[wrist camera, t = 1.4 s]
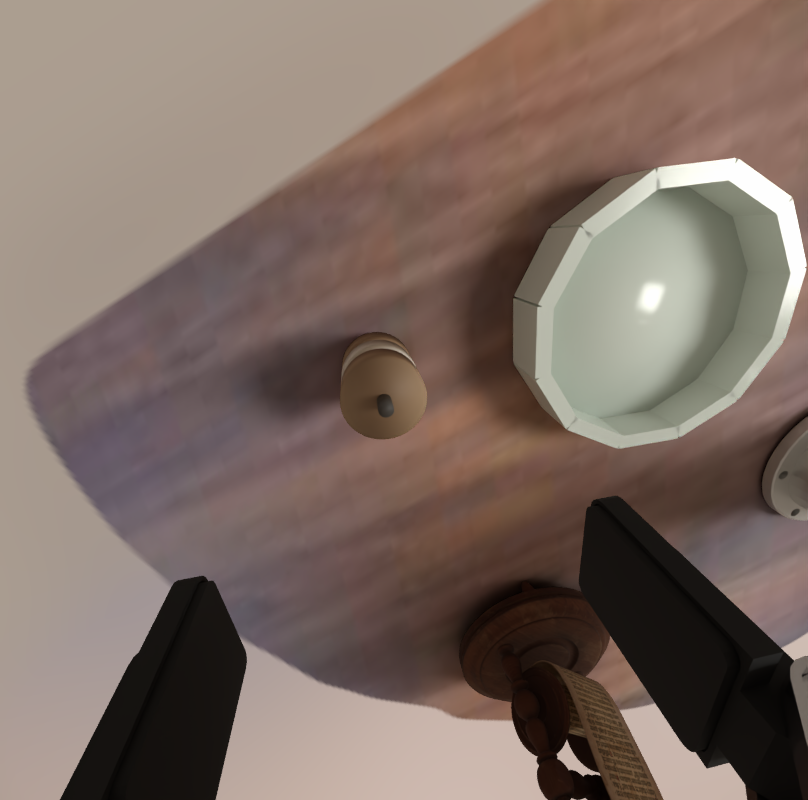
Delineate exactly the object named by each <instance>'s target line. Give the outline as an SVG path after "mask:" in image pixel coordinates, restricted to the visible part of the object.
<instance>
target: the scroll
mask: <svg viewBox="0 0 808 800" xmlns="http://www.w3.org/2000/svg"><path fill="white" fill-rule="evenodd" d="M609 639H610V634H609V633H608V631H607V630H606V628H605V627H604V625H603V624H602V622H601V621H600V619H599V618H598V616H597V615H596V613H595V612H594V610H593V609H592V607H591V606H590V604H589V603H588V601H587V600H586V598H585V597H584V595H583V593H582V592H580V591H578V590H574V589H570V588H562V587H547V588H539V589H534V588H533V587H532V585H530V584H529V583H528V582H527V581H523V582H522V593H519V594H516V595H514V596H511V597H509V598H507V599H505V600H503V601H501V602H499V603H497V604H496V605H494V606H493V607H491V608H490V609H488V610H487V611H486V612H484V613H483V614H482V615H481V616H480V617H479V618H478V619H477V620H476V621H475V622H474V623H473V624H472V625H471V627H470V628H469V629H468V631H467V632H466V634H465V636H464V638H463V640H462V643H461V645H460V652H459V658H460V663H461V667H462V671H463V675H464V677H465V680H466V681H467V683H468V684H469V685H470V686H471V687H472V688H473V689H474V690H475V691H477V692H478V693H480V694H482V695H484V696H487V697H489V698H493V699H498V700H502V701H508V702H512V703H511V709H512V718H513V723H514V726H515V729H516V732H517V735H518V737H519V739H520V741H521V742H522V744H523V745H524V746H525V747H526V749H527V750H528V751H529V752H531V753H532V754H534V755H535V756H538V758H537V763H538V764H539V767H538V770H537V779H538V783H539V787H540V789H541V791H542V793H543V794H544V796H545V797H546V798H547V799H548V800H570V799H571V798H573V799H576V800H580V799H583V798H586V799H587V800H663V798H662V796H661V793H660V791H659V789H658V787H657V785H656V783H655V781H654V778H653V776H652V774H651V773H650V770H649V768H648V766H647V764H646V762H645V760H644V758H643V756H642V754H641V752H640V750H639V748H638V746H637V744H636V742H635V740H634V738H633V736H632V734H631V732H630V730H629V728H628V726H627V724H626V723H625V720H624V718H623V717H622V714H621V713H620V711H619V709H618V707H617V705H616V704H615V702H614V701H613V699H612V698H611V696H610V695H609V693H608V692H607V691H606V690H605V689H604V687H603V686H602V685H601V684H599V683H598V682H596V681H594V680H592V679H589V678H587V677H585V676H586V675H588V674H589V673H590V672H591V671H592V669H593V668H594V667H595V666H596V664H597V663H598V662H599V660H600V658H601V657H602V655H603V654H604V652H605V650H606V648H607V646H608V643H609ZM566 740H568V743H569V745H570V747H571V749H572V751H573V753H574V754H575V756H576V757H577V759H578V760H579V761H580V762H581V763H582V764H583V765H584V766H586V767H587V768H588V769H590V770H593V771H595V772H599V773H600V775H601V776H599V775H589V774H587V775H584V777H583V776H582V775H581V774H579V773H578V772H576V771H573V770H568V769H567V767H566V766H565V765H564V764H563V763H562V762H561V761H560V760H558V759H557V753H558V752H559V751H560V750H561V749H562V748H563V746H564V744H565V742H566Z"/></svg>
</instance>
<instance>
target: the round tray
mask: <svg viewBox="0 0 808 800" xmlns="http://www.w3.org/2000/svg"><path fill="white" fill-rule="evenodd" d="M791 198H792V197H791V196H789V195H788V194H787V193H785V192H784V191H783V190H781V189H780V188H778V187H777V186H776V185H774V184H773V183H772V182H770V181H769V180H767V179H766V178H765V177H763V176H762V175H761V174H759V173H758V172H756V171H755V170H754V169H752V168H751V167H749V166H748V165H747V164H745V163H744V162H743V161H741V160H740V159H736V158H733V159H724V160H716V161H708V162H699V163H691V164H682V165H674V166H666V167H658V168H653V169H649V170H645V171H640V172H636V173H632V174H627V175H623V176H619V177H615V178H612V179H611V180H610V181H608V182H607V183H606V184H604V185H603V186H602V187H600V188H599V189H598V190H597V191H595V192H594V193H593V194H591V195H590V196H589V197H587V198H586V199H585V200H584V201H582V202H581V203H580V204H578V205H577V206H576V207H574V208H573V209H572V210H571V211H569V212H568V213H567V214H565V215H564V216H563V217H561V218H560V219H559V220H558V221H556V222H555V223H554V224H552V225H551V226H550V227H551V228H548V230H547V232H546V234H545V236H544V238H543V240H542V242H541V244H540V246H539V248H538V250H537V251H536V253H535V255H534V257H533V259H532V261H531V263H530V265H529V267H528V269H527V271H526V273H525V275H524V277H523V279H522V281H521V283H520V285H519V287H518V289H517V291H516V293H515V295H514V296H515V297H517V298H513V362H514V365H515V367H516V368H517V370H518V372H519V373H520V375H521V376H522V378H523V379H524V381H525V382H526V384H527V386H528V387H529V389H530V390H531V392H532V393H533V395H534V396H535V398H536V400H537V401H538V403H539V404H540V406H541V407H542V408H543V409H544V410H545V411H546V412H547V413H548V414H550V415H551V416H552V417H553V418H554V419H555V420H556V421H558V422H559V423H560V424H561V425H562V426H563V427H564V428H565V429H567V430H569V431H571V432H574V433H577V434H579V435H582V436H585V437H587V438H590V439H593V440H595V441H598V442H601V443H603V444H606V445H609V446H611V447H614V448H619V449H621V448H627V447H632V446H638V445H644V444H649V443H655V442H661V441H666V440H672V439H678V437H682V436H683V435H685V434H686V433H688V432H689V431H691V430H693V429H694V428H696V427H697V426H699V425H700V424H702V423H703V422H705V421H707V420H708V419H710V418H711V417H713V416H714V415H716V414H717V413H719V412H721V411H722V410H724V409H725V408H727V407H728V406H730V405H731V404H733V403H735V402H736V401H737V400H736V398H737V399H739V398H740V397H741V396H742V394H743V393H744V392H745V391H746V389H747V388H748V387H749V385H750V384H751V383H752V382H753V380H754V379H755V378H756V376H757V375H758V374H759V373H760V371H761V370H762V369H763V367H764V366H765V365H766V364H767V362H768V361H769V360H770V358H771V357H772V356H773V355H774V353H775V352H776V351H777V349H778V348H779V347H780V346H781V344H782V343H783V342H784V341H783V340H782V339H785V338H786V334H787V331H788V328H789V325H790V321H791V318H792V315H793V312H794V308H795V305H796V302H797V298H798V295H799V292H800V289H801V285H802V282H803V279H804V275H805V272H806V269H807V268H804V267H806V266H807V264H806V259H805V254H804V250H803V245H802V240H801V235H800V230H799V226H798V221H797V216H796V211H795V206H794V202H793V199H791Z"/></svg>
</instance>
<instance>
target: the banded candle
mask: <svg viewBox="0 0 808 800" xmlns="http://www.w3.org/2000/svg"><path fill="white" fill-rule="evenodd" d="M426 404H427V392H426V387H425V384H424V382H423V380H422V378H421V376H420V374H419V372H418V370H417V368H416V366H415V364H414V363H413V361H412V359H411V357H410V355H409V353H408V351H407V349H406V347H405V346H404V345H403V343H402V342H401V341H400V340H398V339H397V338H395V337H394V336H392V335H390V334H387V333H382V332H372V333H367V334H364V335H362V336H360V337H358V338H357V339H355V340H354V341H353V342H352V343H351V344H350V345H349V346H348V348H347V349H346V351H345V353H344V356H343V361H342V376H341V392H340V406H341V410H342V414H343V416H344V418H345V420H346V421H347V423H348V424H349V425H350V426H351V427H352V428H353V429H354V430H355V431H357V432H358V433H360V434H362V435H364V436H366V437H369V438H374V439H390V438H395V437H398V436H401V435H403V434H405V433H406V432H408V431H410V430H411V429H412V428H413V427H414V426H415V425H416V424H417V423H418V422H419V420H420V419H421V417H422V416H423V414H424V411H425V408H426Z"/></svg>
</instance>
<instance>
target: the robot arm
mask: <svg viewBox="0 0 808 800" xmlns="http://www.w3.org/2000/svg"><path fill="white" fill-rule="evenodd" d="M762 492H763V496H764V499H765V501H766V503H767V504H768V505H769V506H770V508H772V509H774V510H775V511H776V512H778V513H779V514H781V515H782V516H784V517H786V518H789V519H793V520H799V521H800V520H808V416H807V417H806V418H805V419H803V420H802V421H801V422H800V423H799V424H797V425H796V426H795V427H794V428H793V429H792V430H791V431H790V432H789V433H788V434H787V435H786V436H785V437H784V438H783V439H782V441H781V442H780V443H779V445H778V446H777V447H776V449H775V450H774V452H773V454H772V455H771V457H770V459H769V461H768V463H767V466H766V468H765V471H764V474H763V480H762ZM579 585H580V588H581V591H582V593H583V595H584V597H585V598H586V600H587V601H588V603H589V604H590V606H591V607H592V609H593V610H594V612H595V613H596V615H597V616H598V618H599V619H600V621H601V622H602V624H603V625H604V627H605V628H606V630H607V631H608V633H609V634H610V636H611V637H612V639H613V640H614V642H615V643H616V645H617V646H618V648H619V649H620V651H621V652H622V654H623V655H624V657H625V658H626V660H627V661H628V663H629V664H630V666H631V667H632V669H633V670H634V672H635V673H636V675H637V676H638V678H639V679H640V681H641V682H642V684H643V685H644V687H645V688H646V690H647V691H648V693H649V694H650V696H651V697H652V699H653V700H654V702H655V703H656V705H657V706H658V708H659V709H660V711H661V712H662V714H663V715H664V717H665V718H666V720H667V721H668V723H669V724H670V726H671V727H672V729H673V731H674V732H675V733H676V735H677V736H678V738H679V739H680V741H681V742H682V743H683V745H684V746H685V747H686V748H687V749H688V750H690V751H691V752H696V753H697V755H698V756H699V758H700V759H701V761H702V762H703V763H704V765H705V766H706V768H710V767H715V766H718V765H722V764H726V763H730V764H731V765H732V767H733V768H734V770H735V771H736V772H737V774H738V775H739V776H740V778H741V779H742V781H743V782H744V783H745V785H746V794H747V800H808V656H804V657H802V658H799V659H796V660H795V661H794V660H793V659H792V658H791V657H790V656H788V655H787V654H786V653H785V652H784V651H783V650H782V649H781V648H780V647H779V646H778V645H777V644H776V643H775V642H774V641H773V640H772V639H771V638H770V637H768V636H767V635H766V634H765V633H764V632H763V631H762V630H761V629H760V628H759V627H758V626H757V625H756V624H755V623H754V622H753V621H752V620H750V619H749V618H748V617H747V616H746V615H745V614H744V613H743V612H742V611H741V610H740V609H739V608H738V607H737V606H736V605H735V604H734V603H732V602H731V601H730V600H729V599H728V598H727V597H726V596H725V595H724V594H723V593H722V592H721V591H720V590H719V589H718V588H717V587H716V586H714V585H713V584H712V583H711V582H710V581H709V580H708V579H707V578H706V577H705V576H704V575H703V574H702V573H701V572H700V571H699V570H698V569H696V568H695V567H694V566H693V565H692V564H691V563H690V562H689V561H688V560H687V559H686V558H685V557H684V556H683V555H682V554H681V553H680V552H678V551H677V550H676V549H675V548H673V547H672V546H671V545H670V544H669V543H668V542H667V541H666V540H665V539H664V538H663V537H662V536H661V535H660V534H659V533H658V532H657V531H655V530H654V529H653V528H652V527H651V526H650V525H649V524H648V523H647V522H646V521H645V520H644V519H643V518H642V517H641V516H640V515H639V514H638V513H636V512H635V511H634V510H633V509H632V508H631V507H630V506H629V505H628V504H627V503H626V502H625V501H624V500H623V499H621V498H620V497H618V496H611V497H606V498H601V499H596V500H593V501H592V504H591V507H588V508H587V510H586V518H585V527H584V537H583V546H582V555H581V565H580V574H579ZM246 663H247V657H246V651H245V649H244V646H243V644H242V642H241V640H240V637H239V635H238V633H237V631H236V629H235V626H234V624H233V622H232V620H231V618H230V615H229V613H228V611H227V609H226V606H225V604H224V602H223V600H222V598H221V595H220V593H219V591H218V589H217V587H216V584H215V583H214V581H208V580H207V578H206V577H204V576H199V577H194V578H188V579H183V580H178V581H176V582H175V583H174V584H173V586H172V587H171V589H170V591H169V593H168V595H167V597H166V599H165V601H164V603H163V605H162V607H161V609H160V611H159V613H158V615H157V617H156V619H155V621H154V623H153V625H152V627H151V629H150V631H149V634H148V635H147V637H146V639H145V641H144V643H143V645H142V647H141V649H140V651H139V653H138V654H137V655H135V656H134V657H133V659H132V661H131V662H130V664H129V665H128V667H127V669H126V671H125V673H124V675H123V677H122V679H121V681H120V683H119V685H118V687H117V689H116V691H115V693H114V695H113V697H112V698H111V701H110V702H109V705H108V706H107V709H106V710H105V712H104V714H103V716H102V718H101V720H100V722H99V724H98V726H97V728H96V730H95V732H94V734H93V736H92V738H91V740H90V742H89V744H88V746H87V748H86V750H85V752H84V754H83V756H82V758H81V759H80V762H79V763H78V765H77V768H76V769H75V771H74V773H73V775H72V777H71V779H70V781H69V783H68V785H67V787H66V789H65V791H64V793H63V795H62V797H61V799H60V800H215V799H216V795H217V791H218V787H219V782H220V778H221V774H222V769H223V765H224V761H225V756H226V751H227V747H228V743H229V739H230V735H231V730H232V725H233V722H234V718H235V713H236V709H237V704H238V700H239V696H240V691H241V687H242V683H243V679H244V674H245V670H246Z"/></svg>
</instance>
